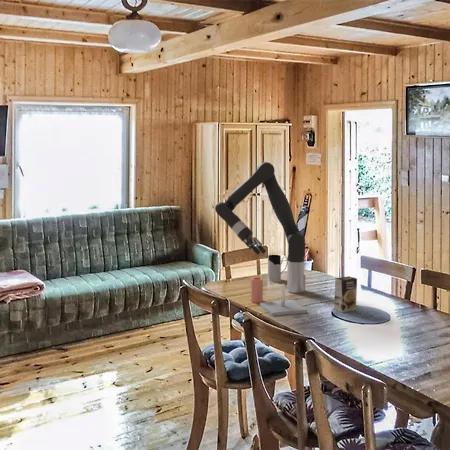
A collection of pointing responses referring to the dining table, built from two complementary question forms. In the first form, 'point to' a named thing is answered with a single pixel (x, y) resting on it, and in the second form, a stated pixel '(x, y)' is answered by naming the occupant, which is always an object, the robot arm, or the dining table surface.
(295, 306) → the post board
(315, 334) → the dining table surface
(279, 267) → the glass holder
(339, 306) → the coffee box
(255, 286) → the sleeve
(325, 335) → the dining table surface
